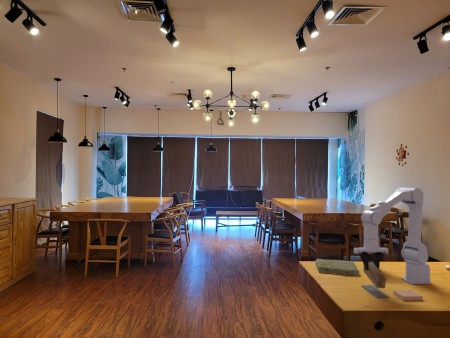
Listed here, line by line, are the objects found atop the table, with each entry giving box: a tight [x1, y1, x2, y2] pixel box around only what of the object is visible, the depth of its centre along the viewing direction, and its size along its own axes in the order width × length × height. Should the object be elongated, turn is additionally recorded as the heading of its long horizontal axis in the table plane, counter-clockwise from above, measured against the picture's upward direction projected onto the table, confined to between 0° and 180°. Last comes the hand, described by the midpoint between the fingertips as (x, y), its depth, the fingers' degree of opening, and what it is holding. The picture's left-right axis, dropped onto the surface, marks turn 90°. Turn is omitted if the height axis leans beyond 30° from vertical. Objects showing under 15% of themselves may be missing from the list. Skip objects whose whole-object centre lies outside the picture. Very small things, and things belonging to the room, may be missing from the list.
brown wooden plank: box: [362, 262, 387, 289], centre depth 138 cm, size 4×12×4 cm, turn 3°
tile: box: [392, 289, 423, 301], centre depth 132 cm, size 8×2×7 cm
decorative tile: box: [315, 258, 360, 277], centre depth 169 cm, size 19×20×4 cm
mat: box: [361, 284, 389, 299], centre depth 138 cm, size 5×13×1 cm, turn 3°
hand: (370, 269), depth 141 cm, fingers closed on brown wooden plank, 3 cm apart
